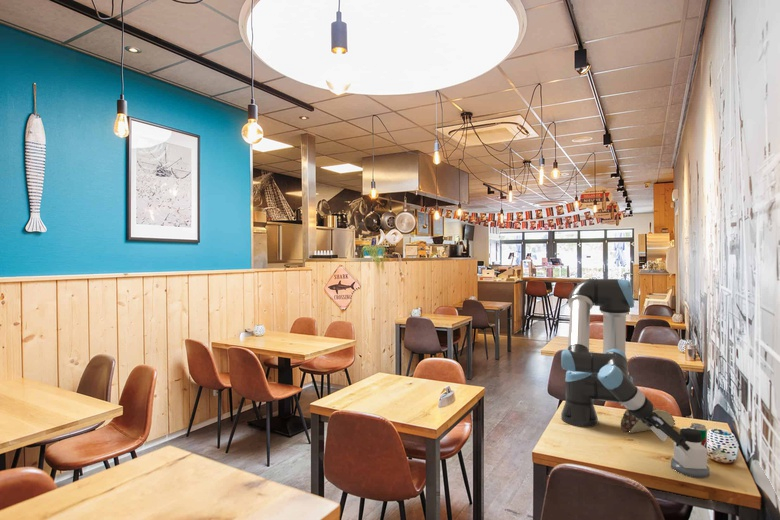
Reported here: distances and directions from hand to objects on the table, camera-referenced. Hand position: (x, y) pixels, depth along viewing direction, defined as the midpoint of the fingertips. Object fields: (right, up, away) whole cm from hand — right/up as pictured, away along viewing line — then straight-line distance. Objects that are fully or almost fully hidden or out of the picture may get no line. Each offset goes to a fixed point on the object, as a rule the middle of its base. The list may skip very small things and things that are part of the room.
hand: (678, 446), depth 150 cm
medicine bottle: (+4, -6, 0) cm, 8 cm away
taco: (+12, -9, +37) cm, 40 cm away
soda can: (+14, -9, +10) cm, 19 cm away
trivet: (+4, -8, 0) cm, 9 cm away
